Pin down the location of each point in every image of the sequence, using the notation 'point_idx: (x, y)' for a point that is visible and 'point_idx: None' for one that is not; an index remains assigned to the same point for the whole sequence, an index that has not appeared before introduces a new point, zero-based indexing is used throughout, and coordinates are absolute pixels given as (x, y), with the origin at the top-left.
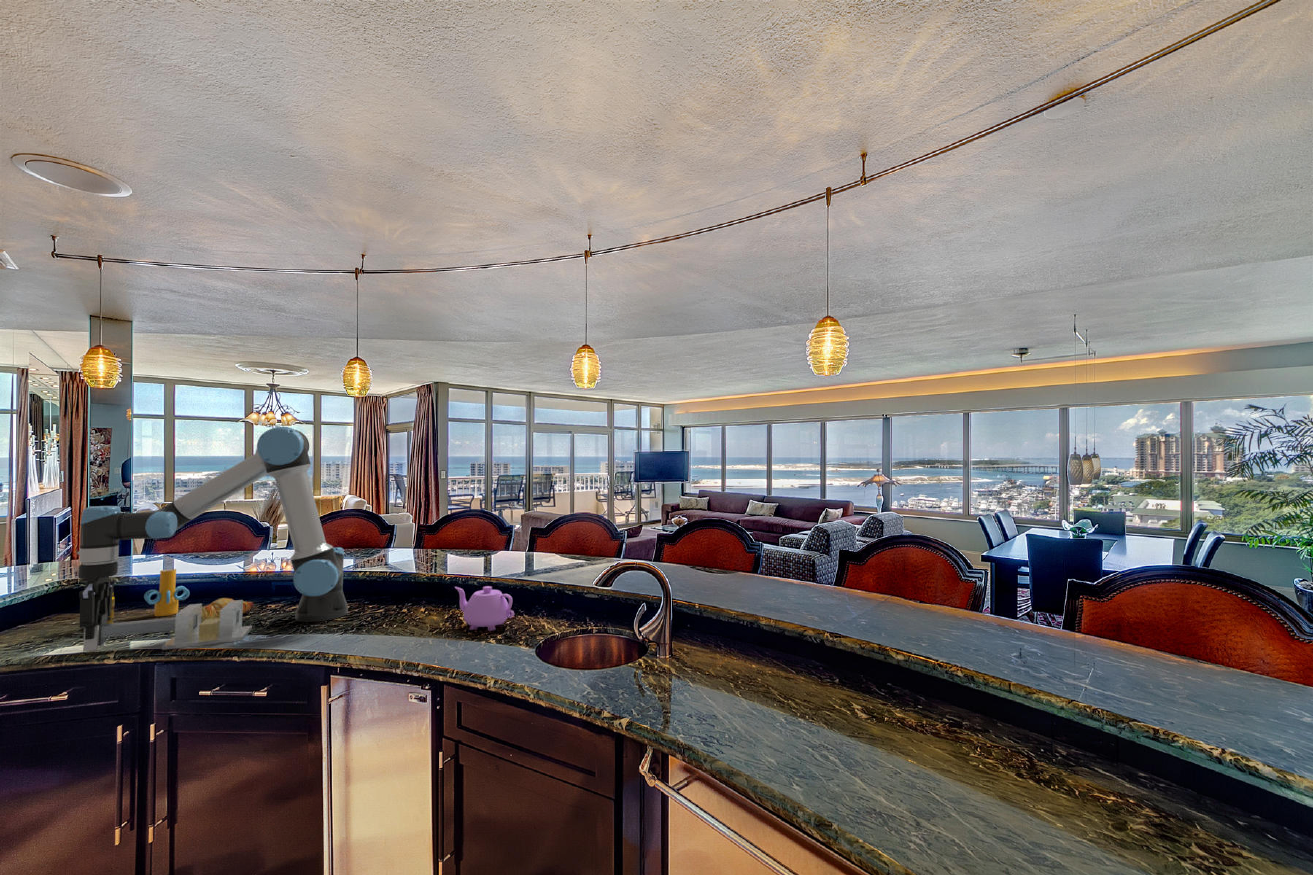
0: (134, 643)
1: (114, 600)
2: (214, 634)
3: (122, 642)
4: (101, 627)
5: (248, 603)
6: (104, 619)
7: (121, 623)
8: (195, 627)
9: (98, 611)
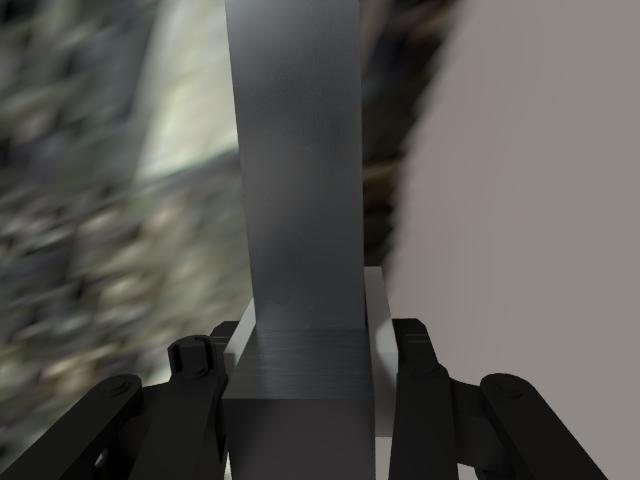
0: (216, 131)
1: None
2: None
3: (167, 215)
4: (363, 324)
5: None
6: (304, 360)
7: (298, 202)
8: None
9: (408, 476)
